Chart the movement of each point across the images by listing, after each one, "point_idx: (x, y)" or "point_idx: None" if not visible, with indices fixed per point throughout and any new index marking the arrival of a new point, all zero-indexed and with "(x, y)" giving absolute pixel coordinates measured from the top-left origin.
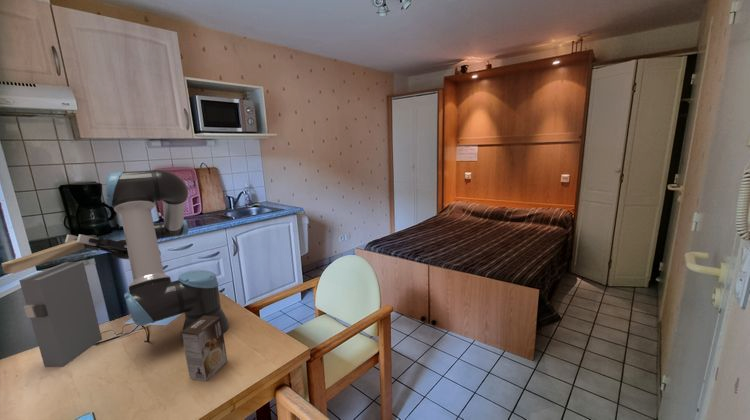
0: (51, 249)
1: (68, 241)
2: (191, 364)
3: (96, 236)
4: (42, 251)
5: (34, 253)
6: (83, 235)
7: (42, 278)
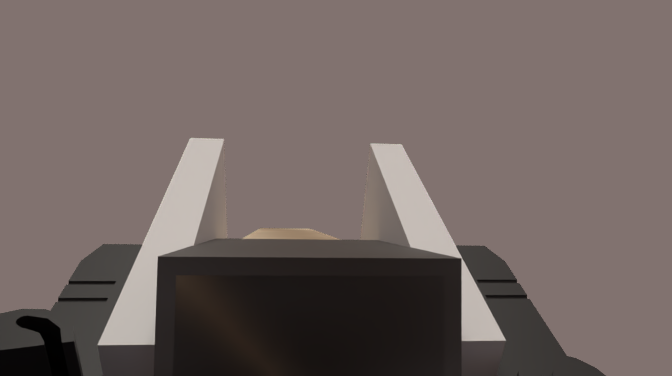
0: (274, 234)
1: (363, 238)
2: None
3: (159, 298)
4: (297, 233)
5: (308, 232)
6: (184, 163)
7: None
